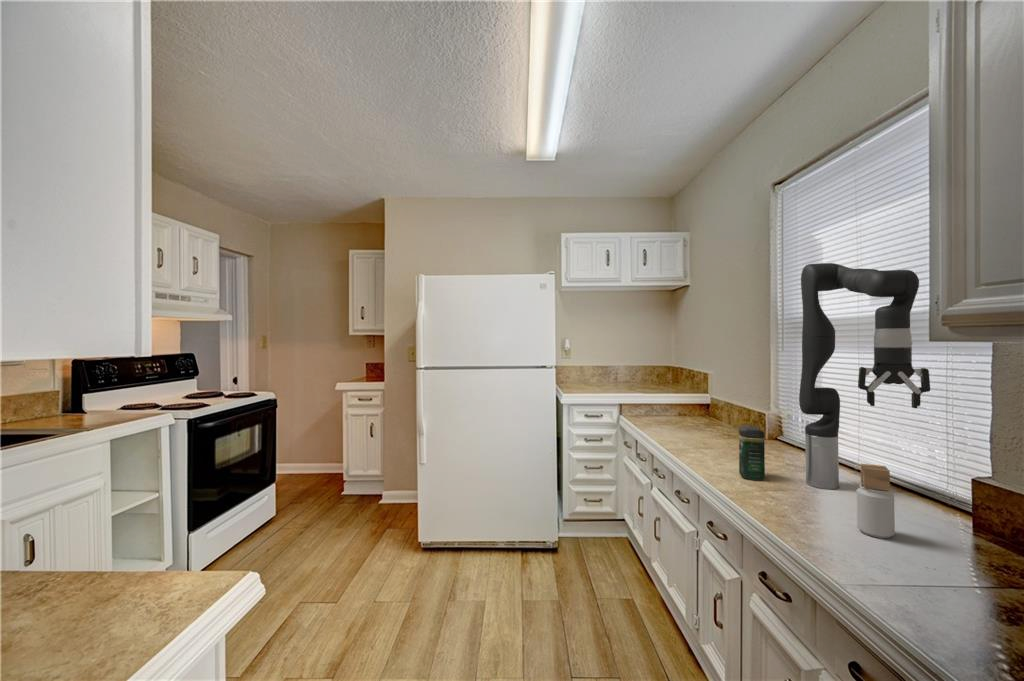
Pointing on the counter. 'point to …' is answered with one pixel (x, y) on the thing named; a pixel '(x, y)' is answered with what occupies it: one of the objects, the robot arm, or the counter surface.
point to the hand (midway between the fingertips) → (892, 406)
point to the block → (875, 477)
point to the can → (875, 512)
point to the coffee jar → (751, 452)
